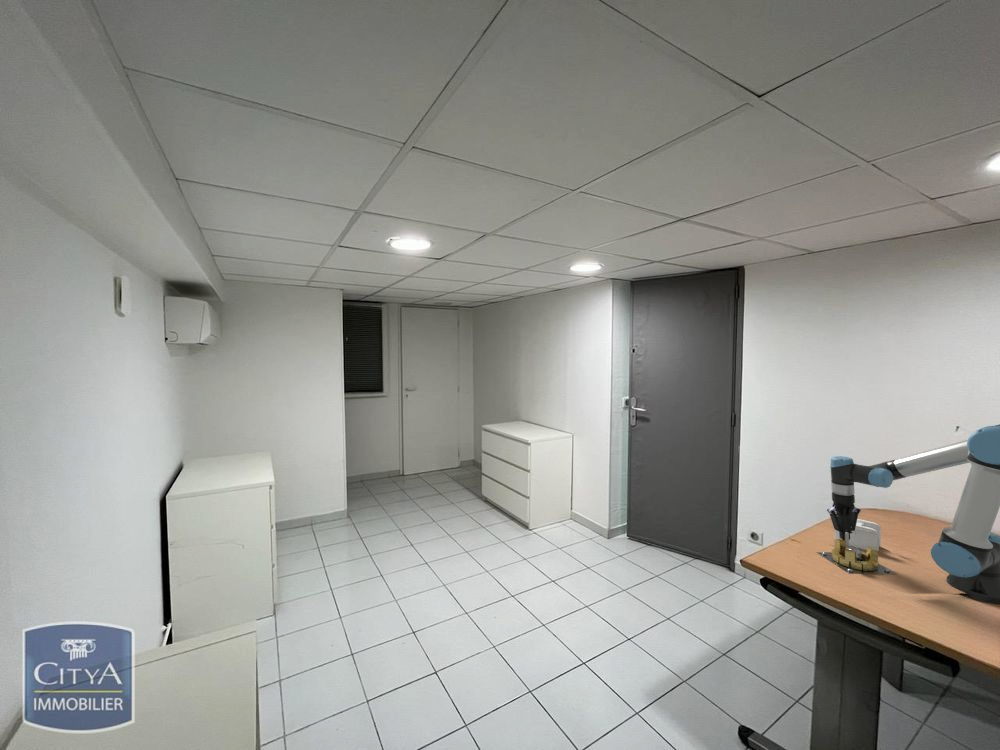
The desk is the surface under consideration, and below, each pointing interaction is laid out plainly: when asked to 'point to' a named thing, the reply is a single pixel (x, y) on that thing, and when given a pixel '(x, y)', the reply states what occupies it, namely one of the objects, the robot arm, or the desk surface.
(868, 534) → the cable organizer
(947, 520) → the desk surface
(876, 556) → the ring nut
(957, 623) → the desk surface
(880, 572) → the flange
